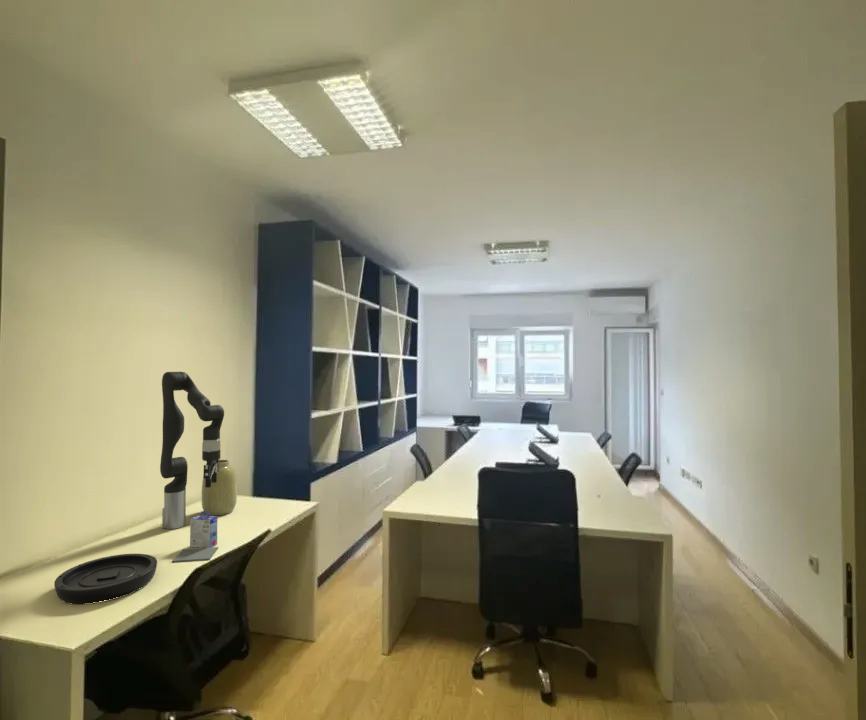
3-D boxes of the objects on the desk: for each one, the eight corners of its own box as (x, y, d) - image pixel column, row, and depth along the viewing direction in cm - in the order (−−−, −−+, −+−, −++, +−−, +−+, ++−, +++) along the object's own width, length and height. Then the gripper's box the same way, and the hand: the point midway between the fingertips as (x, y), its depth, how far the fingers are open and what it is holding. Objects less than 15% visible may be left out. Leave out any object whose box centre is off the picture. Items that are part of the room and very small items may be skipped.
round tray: (162, 562, 187) (70, 576, 175) (162, 547, 187) (70, 560, 175) (150, 596, 159) (39, 615, 147) (150, 579, 159) (40, 596, 147)
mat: (172, 562, 186) (172, 560, 186) (183, 550, 198) (183, 549, 198) (209, 559, 188) (209, 558, 188) (218, 548, 200) (218, 546, 200)
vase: (219, 505, 261) (219, 457, 262) (243, 508, 255) (243, 459, 256) (193, 515, 245) (194, 463, 245) (219, 518, 239) (219, 465, 240)
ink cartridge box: (218, 543, 205) (218, 510, 205) (210, 548, 200) (210, 514, 200) (197, 542, 207) (198, 509, 207) (189, 547, 202) (189, 513, 202)
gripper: (207, 446, 220) (207, 481, 220) (197, 452, 206) (197, 489, 206) (224, 446, 221) (224, 480, 221) (215, 451, 207) (215, 488, 207)
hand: (211, 484), depth 213 cm, fingers open, 8 cm apart
